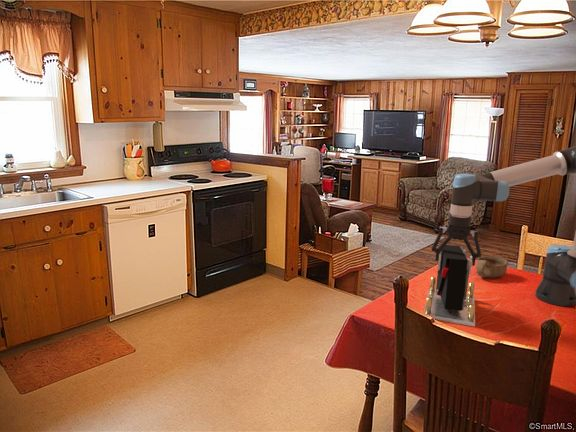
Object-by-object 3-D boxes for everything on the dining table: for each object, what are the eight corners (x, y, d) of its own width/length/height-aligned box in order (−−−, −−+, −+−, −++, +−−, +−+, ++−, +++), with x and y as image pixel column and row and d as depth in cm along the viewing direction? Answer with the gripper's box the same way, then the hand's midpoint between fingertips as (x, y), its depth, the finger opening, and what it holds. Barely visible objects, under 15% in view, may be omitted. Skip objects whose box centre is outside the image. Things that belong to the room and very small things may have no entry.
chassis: (473, 299, 186) (475, 282, 184) (474, 326, 162) (477, 307, 160) (428, 292, 192) (430, 275, 190) (422, 317, 168) (424, 298, 167)
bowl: (503, 283, 200) (499, 261, 200) (471, 283, 209) (467, 263, 209) (513, 272, 214) (509, 251, 213) (482, 273, 223) (478, 253, 222)
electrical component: (467, 311, 167) (473, 260, 162) (439, 308, 169) (444, 258, 164) (460, 293, 184) (465, 246, 179) (434, 290, 186) (438, 244, 181)
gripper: (493, 216, 168) (485, 272, 173) (429, 210, 176) (423, 263, 181) (494, 221, 161) (486, 279, 166) (427, 214, 169) (422, 269, 174)
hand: (453, 271), depth 174 cm, fingers closed on electrical component, 10 cm apart
